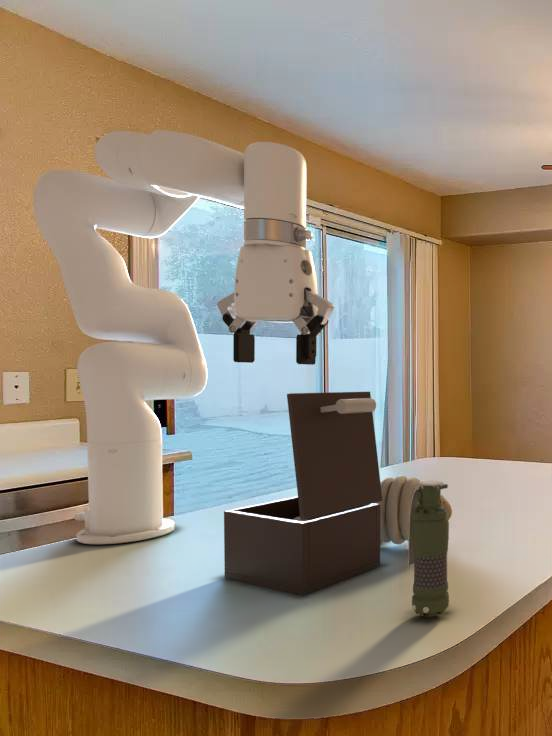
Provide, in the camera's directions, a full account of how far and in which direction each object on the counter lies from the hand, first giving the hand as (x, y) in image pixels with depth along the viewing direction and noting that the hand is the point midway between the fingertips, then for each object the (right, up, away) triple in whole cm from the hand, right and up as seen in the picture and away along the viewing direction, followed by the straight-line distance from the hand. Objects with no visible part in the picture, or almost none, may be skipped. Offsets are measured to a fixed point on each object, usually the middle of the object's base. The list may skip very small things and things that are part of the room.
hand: (274, 363), depth 82 cm
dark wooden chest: (+5, -29, -2) cm, 29 cm away
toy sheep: (+13, -28, +11) cm, 33 cm away
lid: (+11, -12, -5) cm, 17 cm away
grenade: (+26, -30, -16) cm, 42 cm away
